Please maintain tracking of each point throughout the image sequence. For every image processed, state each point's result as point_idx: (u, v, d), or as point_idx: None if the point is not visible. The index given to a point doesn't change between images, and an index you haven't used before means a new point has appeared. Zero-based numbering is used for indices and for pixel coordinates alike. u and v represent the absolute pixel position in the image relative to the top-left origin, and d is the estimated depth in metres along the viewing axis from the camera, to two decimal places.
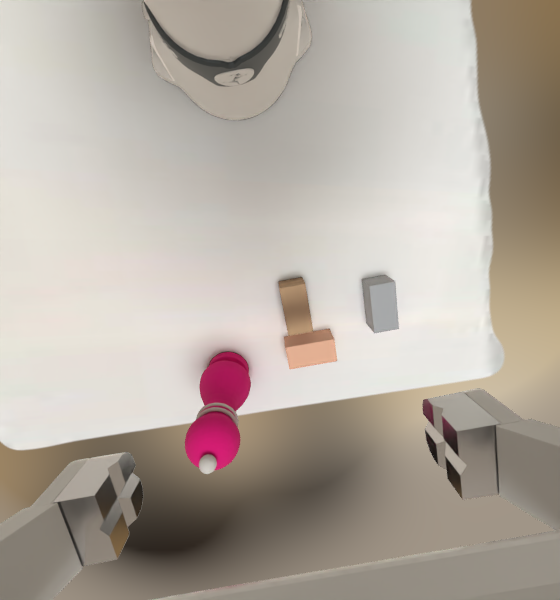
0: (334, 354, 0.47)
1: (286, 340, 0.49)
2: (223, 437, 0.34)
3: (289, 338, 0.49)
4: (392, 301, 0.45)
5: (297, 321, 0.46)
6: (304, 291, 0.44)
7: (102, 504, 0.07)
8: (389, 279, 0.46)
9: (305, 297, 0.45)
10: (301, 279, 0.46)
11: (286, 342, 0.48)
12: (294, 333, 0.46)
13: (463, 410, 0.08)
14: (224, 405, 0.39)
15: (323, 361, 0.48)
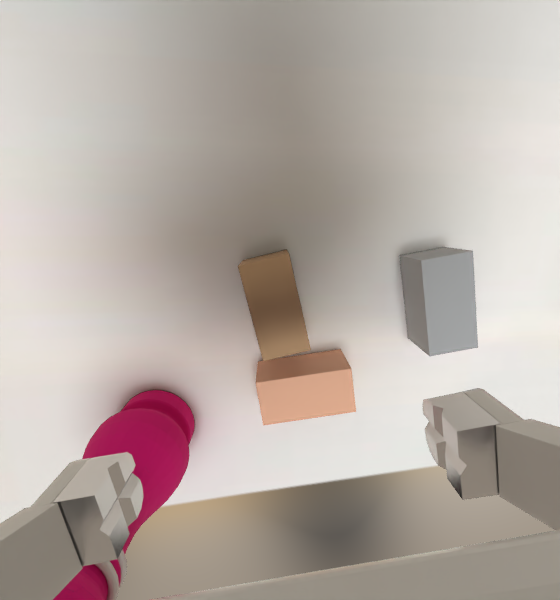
0: (351, 398, 0.24)
1: (260, 368, 0.26)
2: None
3: (266, 365, 0.27)
4: (466, 292, 0.23)
5: (279, 330, 0.23)
6: (288, 269, 0.22)
7: (102, 504, 0.07)
8: (457, 250, 0.23)
9: (291, 282, 0.22)
10: (284, 251, 0.24)
11: (259, 372, 0.26)
12: (274, 355, 0.23)
13: (463, 410, 0.08)
14: None
15: (329, 411, 0.25)
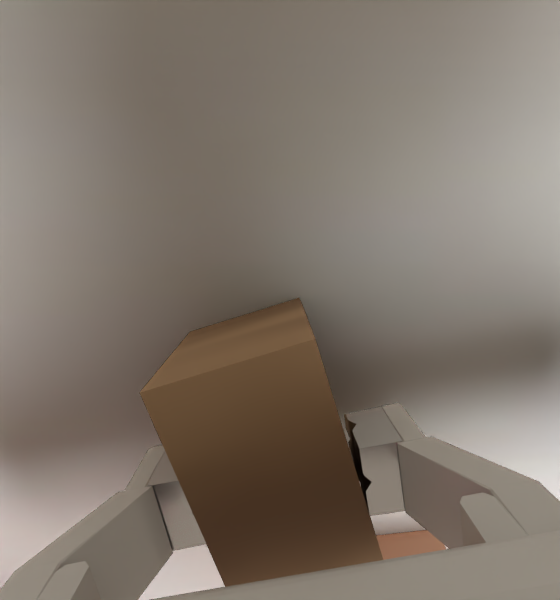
0: None
1: None
2: None
3: None
4: None
5: (300, 573, 0.07)
6: (317, 392, 0.06)
7: None
8: None
9: (329, 430, 0.07)
10: (294, 310, 0.09)
11: None
12: None
13: (374, 426, 0.08)
14: None
15: None
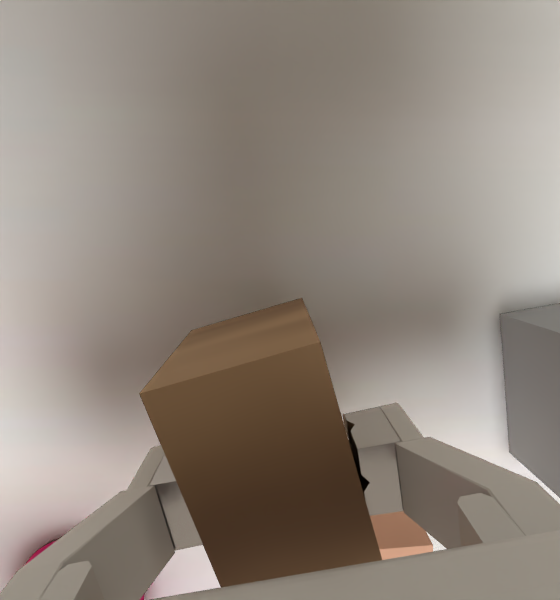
0: None
1: None
2: None
3: None
4: None
5: None
6: (321, 396, 0.06)
7: None
8: None
9: (332, 435, 0.06)
10: (298, 311, 0.08)
11: None
12: None
13: (372, 426, 0.08)
14: None
15: None
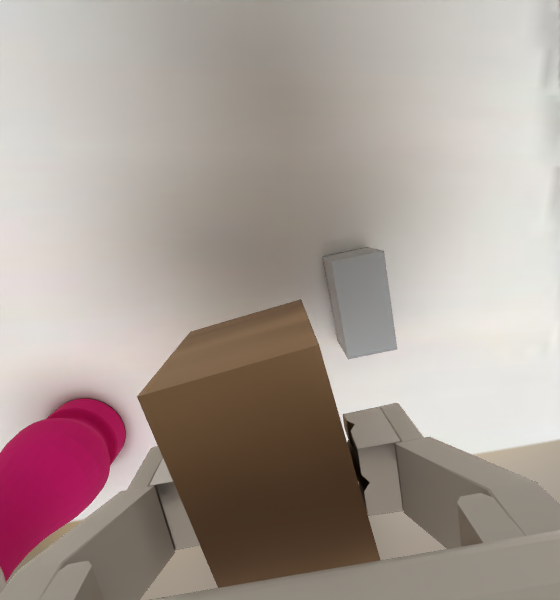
0: None
1: None
2: None
3: None
4: (380, 293, 0.22)
5: None
6: (320, 399, 0.06)
7: None
8: (373, 250, 0.23)
9: (331, 438, 0.06)
10: (296, 313, 0.08)
11: None
12: None
13: (372, 426, 0.08)
14: None
15: None
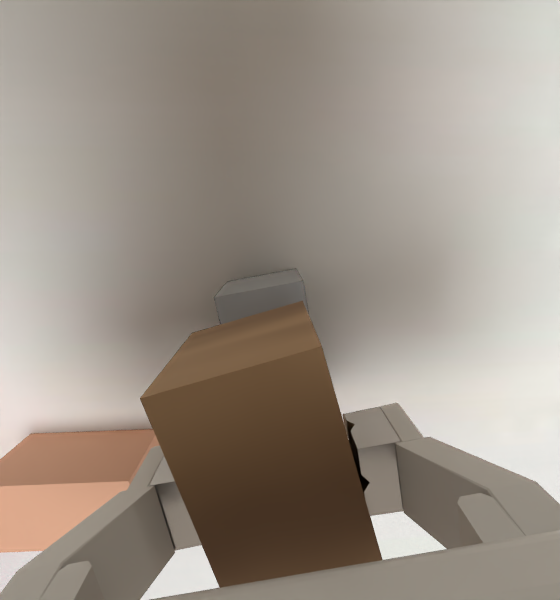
0: None
1: (15, 451, 0.17)
2: None
3: (30, 444, 0.17)
4: None
5: None
6: (323, 400, 0.06)
7: None
8: (293, 276, 0.14)
9: (334, 439, 0.06)
10: (298, 314, 0.08)
11: (3, 460, 0.16)
12: None
13: (372, 426, 0.08)
14: None
15: None
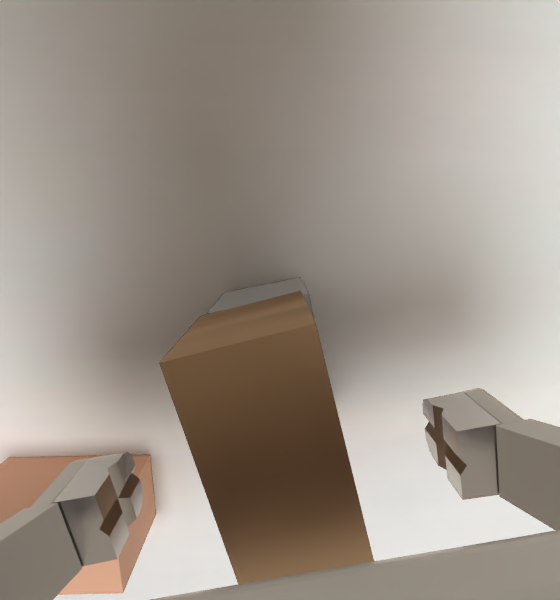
0: (113, 571, 0.13)
1: None
2: None
3: (7, 471, 0.15)
4: None
5: (290, 533, 0.08)
6: (315, 370, 0.07)
7: (102, 504, 0.07)
8: (297, 288, 0.12)
9: (323, 404, 0.07)
10: (296, 301, 0.10)
11: None
12: None
13: (463, 410, 0.08)
14: None
15: (73, 588, 0.13)
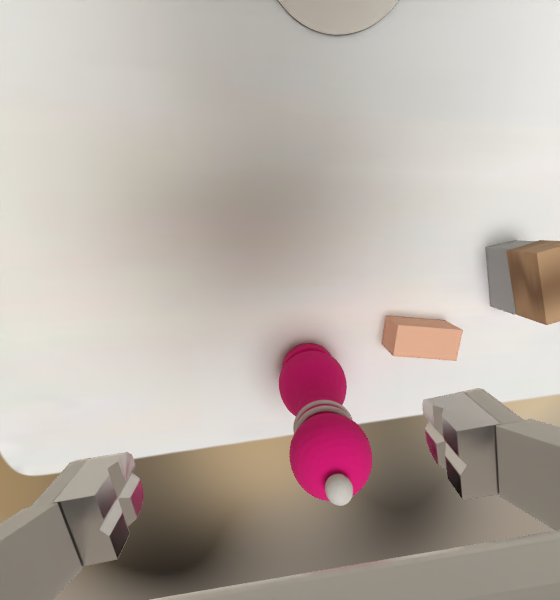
0: (456, 351, 0.36)
1: (393, 319, 0.37)
2: (357, 446, 0.22)
3: (395, 318, 0.38)
4: None
5: None
6: None
7: (102, 504, 0.07)
8: (531, 241, 0.35)
9: None
10: (549, 241, 0.32)
11: (394, 320, 0.37)
12: (555, 320, 0.31)
13: (463, 410, 0.08)
14: (335, 404, 0.27)
15: (439, 356, 0.36)
